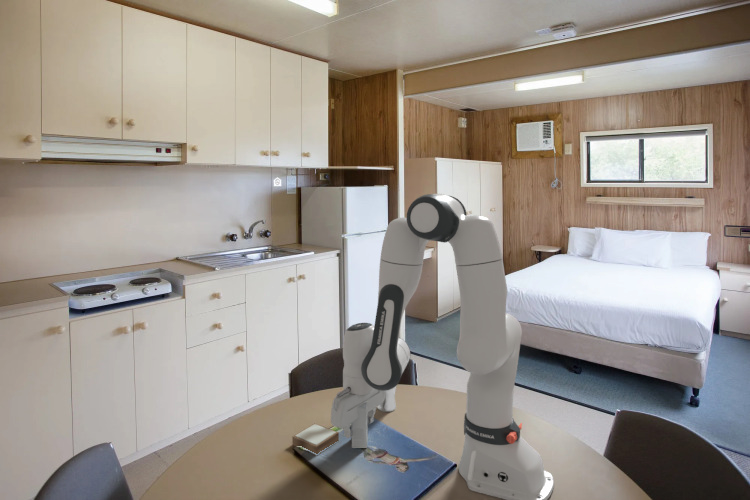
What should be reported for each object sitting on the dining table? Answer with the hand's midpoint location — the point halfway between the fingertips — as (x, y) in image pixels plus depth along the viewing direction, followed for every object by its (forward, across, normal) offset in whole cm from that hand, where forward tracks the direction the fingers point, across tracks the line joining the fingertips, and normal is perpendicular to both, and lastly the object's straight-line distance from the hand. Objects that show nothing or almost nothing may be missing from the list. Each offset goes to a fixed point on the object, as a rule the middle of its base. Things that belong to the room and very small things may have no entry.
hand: (359, 429), depth 130 cm
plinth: (+4, -7, +10) cm, 13 cm away
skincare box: (+4, 0, 0) cm, 4 cm away
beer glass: (+4, +22, +6) cm, 23 cm away
